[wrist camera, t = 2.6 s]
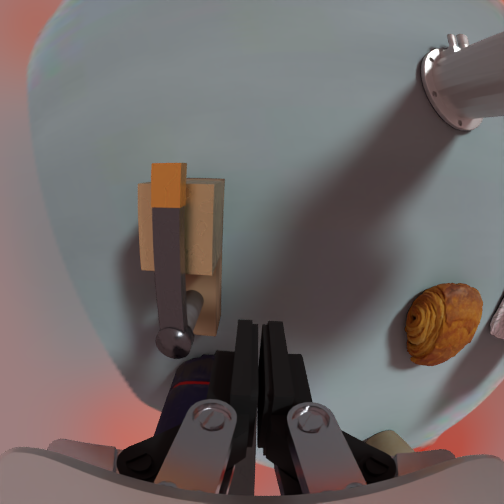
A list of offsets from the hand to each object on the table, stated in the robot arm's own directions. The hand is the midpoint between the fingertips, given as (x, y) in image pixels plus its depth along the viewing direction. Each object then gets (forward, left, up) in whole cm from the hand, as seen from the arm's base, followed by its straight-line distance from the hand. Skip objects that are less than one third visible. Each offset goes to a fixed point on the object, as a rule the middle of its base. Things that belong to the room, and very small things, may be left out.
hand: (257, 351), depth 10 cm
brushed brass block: (-2, -6, -17) cm, 18 cm away
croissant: (+12, +30, -22) cm, 39 cm away
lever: (+1, -6, -10) cm, 12 cm away
